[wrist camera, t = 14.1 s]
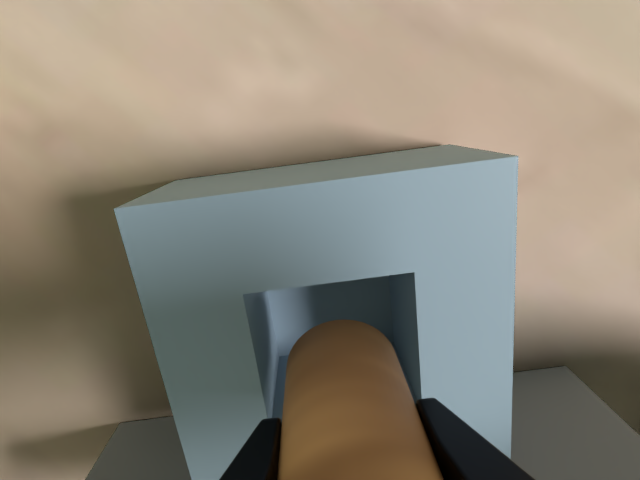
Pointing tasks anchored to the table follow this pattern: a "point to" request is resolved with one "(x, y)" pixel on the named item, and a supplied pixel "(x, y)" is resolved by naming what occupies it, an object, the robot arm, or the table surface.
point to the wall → (526, 437)
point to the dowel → (350, 410)
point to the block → (328, 283)
